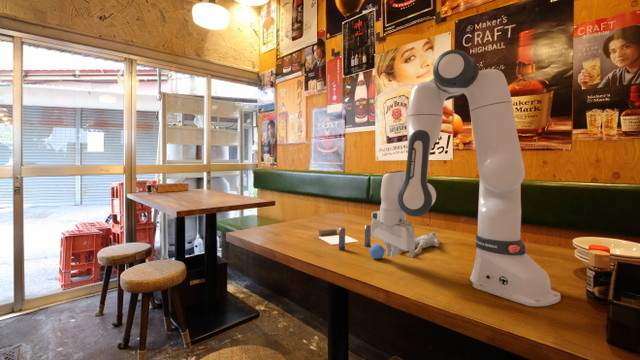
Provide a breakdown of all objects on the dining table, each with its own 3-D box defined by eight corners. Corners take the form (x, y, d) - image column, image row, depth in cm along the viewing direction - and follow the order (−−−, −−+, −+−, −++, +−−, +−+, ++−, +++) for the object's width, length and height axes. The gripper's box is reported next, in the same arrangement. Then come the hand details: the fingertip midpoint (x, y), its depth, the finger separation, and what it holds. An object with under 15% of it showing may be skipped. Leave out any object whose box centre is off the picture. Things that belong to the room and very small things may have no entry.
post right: (371, 246, 132) (371, 225, 132) (366, 247, 131) (366, 226, 131) (368, 245, 135) (368, 224, 134) (363, 245, 134) (363, 225, 133)
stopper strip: (336, 234, 155) (336, 229, 155) (320, 235, 151) (320, 231, 151) (334, 233, 157) (335, 228, 156) (318, 235, 153) (318, 230, 153)
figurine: (388, 241, 123) (421, 226, 145) (389, 256, 124) (421, 238, 146) (420, 247, 114) (449, 230, 136) (420, 263, 115) (449, 243, 137)
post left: (346, 250, 127) (346, 228, 126) (340, 250, 126) (340, 229, 125) (343, 248, 129) (343, 227, 129) (337, 249, 128) (337, 227, 128)
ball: (387, 259, 114) (387, 245, 114) (375, 261, 112) (375, 246, 112) (378, 255, 119) (378, 241, 119) (366, 257, 117) (367, 243, 117)
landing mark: (359, 241, 140) (359, 241, 140) (331, 245, 135) (331, 244, 135) (344, 234, 153) (344, 234, 153) (318, 237, 147) (318, 237, 147)
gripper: (421, 222, 98) (419, 264, 99) (382, 211, 117) (381, 247, 118) (405, 223, 96) (403, 267, 97) (368, 212, 114) (367, 249, 115)
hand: (391, 256), depth 107 cm, fingers closed
